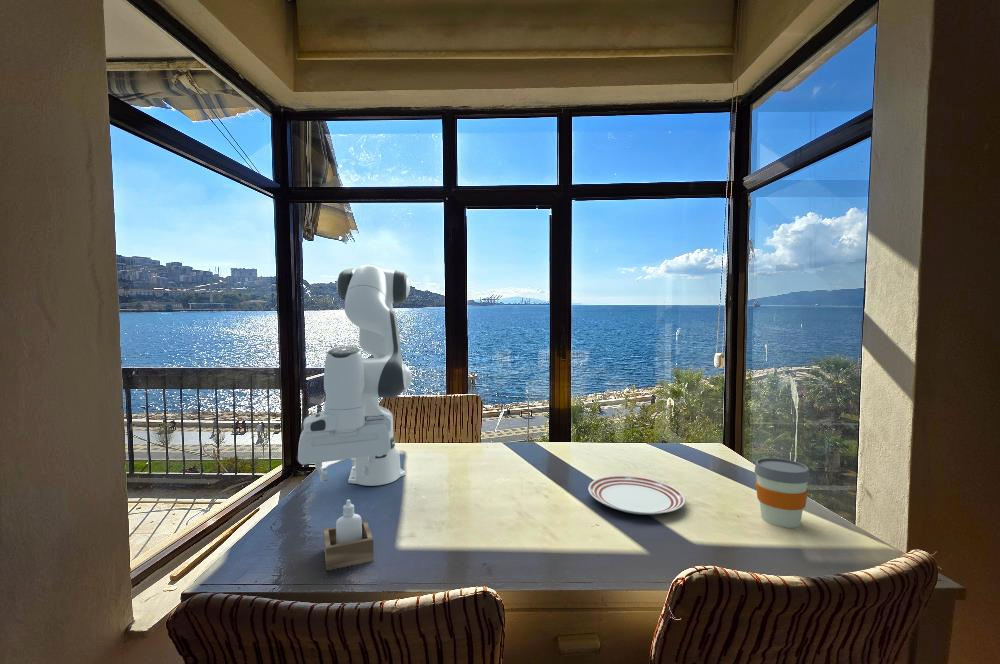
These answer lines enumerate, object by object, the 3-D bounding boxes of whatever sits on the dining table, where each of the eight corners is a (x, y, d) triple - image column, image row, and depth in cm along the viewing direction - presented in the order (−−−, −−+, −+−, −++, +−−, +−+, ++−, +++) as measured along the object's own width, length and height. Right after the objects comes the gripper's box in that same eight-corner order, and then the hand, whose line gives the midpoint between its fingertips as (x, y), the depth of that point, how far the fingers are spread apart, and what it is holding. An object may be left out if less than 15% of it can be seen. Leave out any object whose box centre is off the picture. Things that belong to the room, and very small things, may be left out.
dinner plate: (687, 492, 143) (687, 482, 143) (681, 530, 119) (682, 517, 118) (599, 479, 155) (599, 470, 155) (577, 511, 130) (577, 500, 130)
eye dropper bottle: (339, 547, 109) (338, 497, 108) (363, 545, 110) (362, 495, 109) (334, 556, 105) (333, 504, 104) (360, 555, 105) (359, 503, 105)
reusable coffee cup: (790, 535, 115) (791, 476, 115) (743, 515, 126) (744, 461, 126) (818, 524, 121) (820, 467, 121) (771, 506, 132) (772, 454, 132)
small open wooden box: (324, 549, 110) (323, 529, 110) (367, 541, 114) (367, 521, 114) (326, 571, 101) (326, 548, 100) (373, 560, 105) (373, 539, 104)
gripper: (388, 411, 113) (389, 466, 114) (297, 419, 105) (298, 478, 105) (393, 417, 107) (393, 475, 108) (297, 425, 99) (298, 488, 100)
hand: (345, 477), depth 107 cm, fingers open, 8 cm apart
